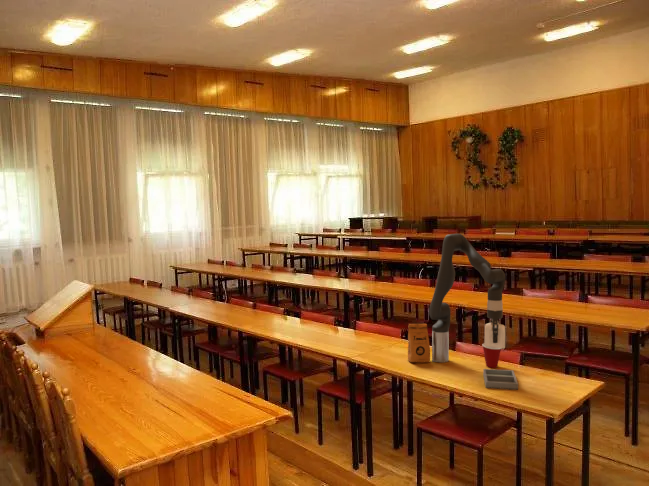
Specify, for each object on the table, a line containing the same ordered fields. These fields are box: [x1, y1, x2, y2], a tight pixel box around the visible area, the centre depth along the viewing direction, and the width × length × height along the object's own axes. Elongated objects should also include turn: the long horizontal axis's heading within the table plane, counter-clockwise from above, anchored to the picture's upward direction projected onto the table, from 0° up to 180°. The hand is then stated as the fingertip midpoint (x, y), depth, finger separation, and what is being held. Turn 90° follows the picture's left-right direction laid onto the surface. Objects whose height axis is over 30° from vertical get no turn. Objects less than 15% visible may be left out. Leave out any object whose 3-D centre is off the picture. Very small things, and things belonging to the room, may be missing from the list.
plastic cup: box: [481, 342, 503, 369], centre depth 300 cm, size 11×11×12 cm
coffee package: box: [407, 323, 431, 364], centre depth 312 cm, size 10×12×22 cm
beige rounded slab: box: [484, 322, 506, 350], centre depth 278 cm, size 10×4×12 cm, turn 60°
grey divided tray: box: [482, 368, 519, 391], centre depth 276 cm, size 15×21×3 cm
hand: (494, 341), depth 279 cm, fingers closed on beige rounded slab, 5 cm apart
